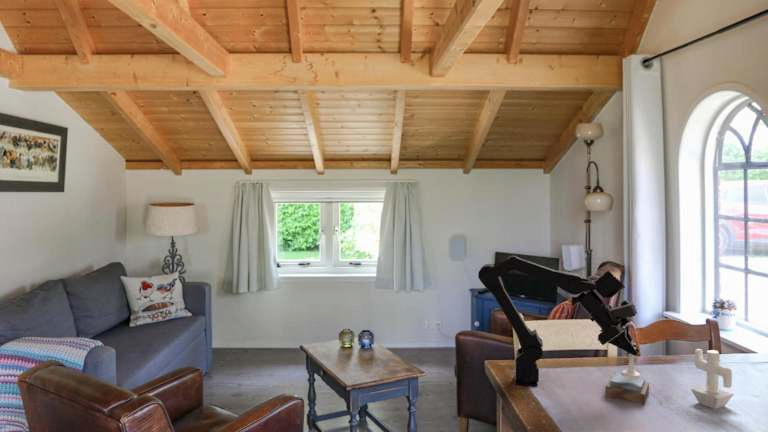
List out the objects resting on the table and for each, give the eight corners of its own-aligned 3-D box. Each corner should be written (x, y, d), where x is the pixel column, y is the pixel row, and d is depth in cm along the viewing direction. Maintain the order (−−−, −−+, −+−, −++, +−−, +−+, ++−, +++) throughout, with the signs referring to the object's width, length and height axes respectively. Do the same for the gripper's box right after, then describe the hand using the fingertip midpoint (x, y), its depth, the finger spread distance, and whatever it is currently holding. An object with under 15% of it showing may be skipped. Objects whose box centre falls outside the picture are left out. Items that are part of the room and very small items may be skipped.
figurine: (721, 413, 129) (723, 357, 129) (686, 400, 138) (688, 347, 137) (737, 408, 132) (739, 354, 132) (702, 396, 141) (704, 344, 140)
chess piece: (642, 379, 136) (644, 343, 135) (623, 377, 137) (625, 342, 137) (637, 373, 140) (639, 339, 140) (619, 371, 142) (620, 337, 141)
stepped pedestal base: (605, 396, 140) (605, 381, 140) (611, 385, 148) (611, 371, 148) (644, 404, 134) (644, 388, 134) (648, 393, 143) (649, 378, 142)
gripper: (612, 297, 133) (656, 345, 127) (624, 287, 148) (664, 330, 142) (580, 321, 138) (622, 368, 132) (596, 309, 153) (633, 351, 147)
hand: (637, 353), depth 138 cm, fingers closed on chess piece
